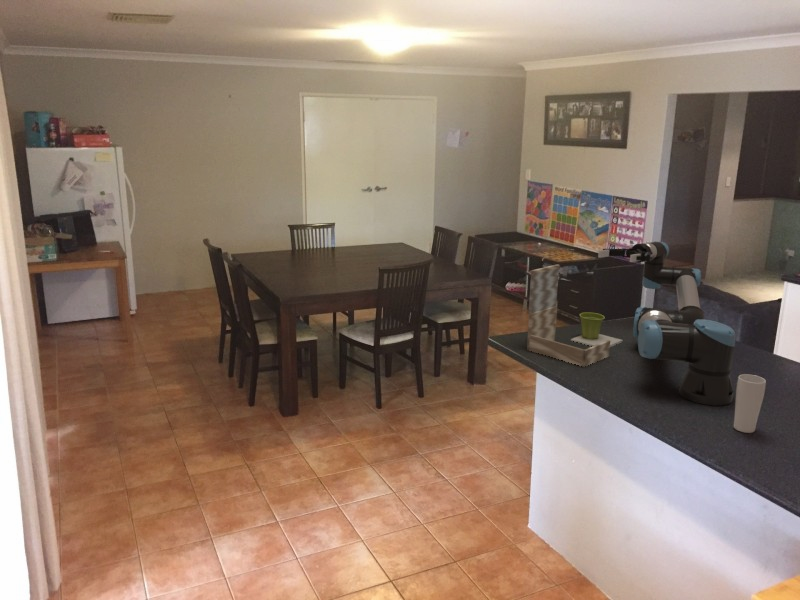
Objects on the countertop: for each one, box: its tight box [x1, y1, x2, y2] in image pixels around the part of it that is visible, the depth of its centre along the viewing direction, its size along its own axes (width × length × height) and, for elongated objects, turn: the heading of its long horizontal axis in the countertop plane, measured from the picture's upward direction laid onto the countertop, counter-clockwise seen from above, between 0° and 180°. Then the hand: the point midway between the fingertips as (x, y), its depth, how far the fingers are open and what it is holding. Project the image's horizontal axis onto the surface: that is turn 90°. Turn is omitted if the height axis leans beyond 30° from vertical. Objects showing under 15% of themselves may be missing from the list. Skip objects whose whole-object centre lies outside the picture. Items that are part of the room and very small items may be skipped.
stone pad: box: [570, 333, 624, 348], centre depth 253 cm, size 14×14×1 cm
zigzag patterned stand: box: [526, 264, 611, 368], centre depth 236 cm, size 16×24×30 cm
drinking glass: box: [733, 373, 767, 434], centre depth 179 cm, size 7×7×15 cm
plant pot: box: [579, 311, 606, 339], centre depth 254 cm, size 9×9×9 cm
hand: (614, 256), depth 253 cm, fingers open, 13 cm apart
